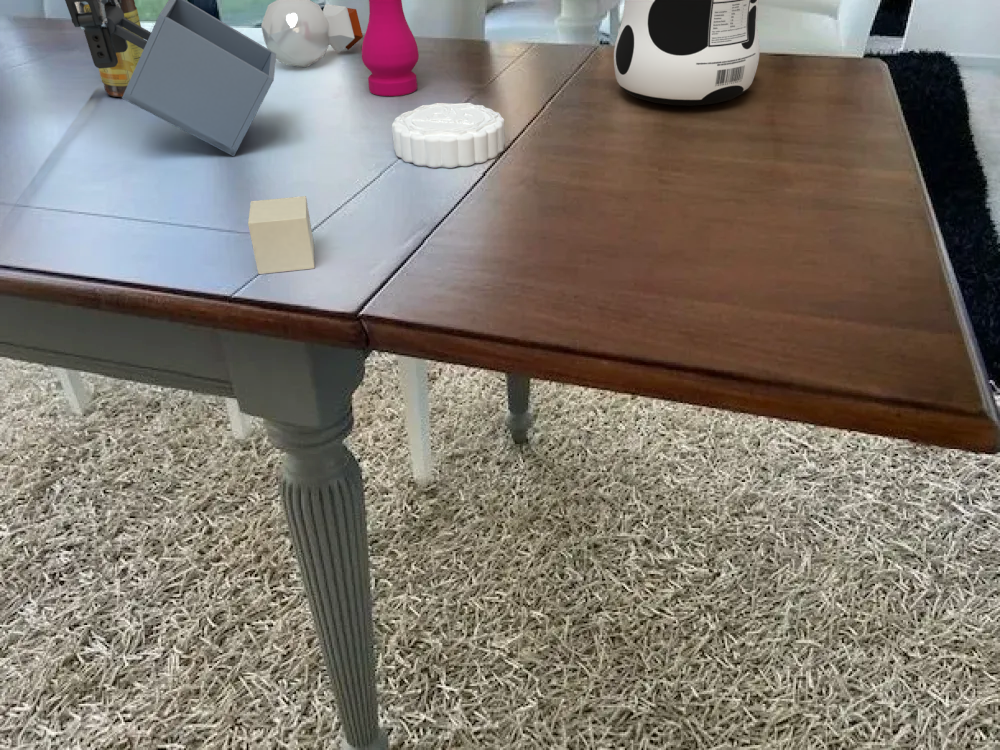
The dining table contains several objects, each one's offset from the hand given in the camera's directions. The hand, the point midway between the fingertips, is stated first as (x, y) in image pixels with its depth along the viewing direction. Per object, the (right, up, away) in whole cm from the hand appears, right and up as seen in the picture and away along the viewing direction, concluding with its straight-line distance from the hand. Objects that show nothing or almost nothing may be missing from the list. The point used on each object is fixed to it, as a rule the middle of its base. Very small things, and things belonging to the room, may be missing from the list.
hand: (112, 58), depth 89 cm
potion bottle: (+13, +13, +35) cm, 40 cm away
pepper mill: (+27, +4, +22) cm, 35 cm away
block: (+23, -24, -18) cm, 37 cm away
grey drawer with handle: (+4, -3, +3) cm, 6 cm away
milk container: (+63, +2, +17) cm, 66 cm away
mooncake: (+35, -9, +3) cm, 36 cm away
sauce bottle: (-8, +4, +24) cm, 25 cm away
